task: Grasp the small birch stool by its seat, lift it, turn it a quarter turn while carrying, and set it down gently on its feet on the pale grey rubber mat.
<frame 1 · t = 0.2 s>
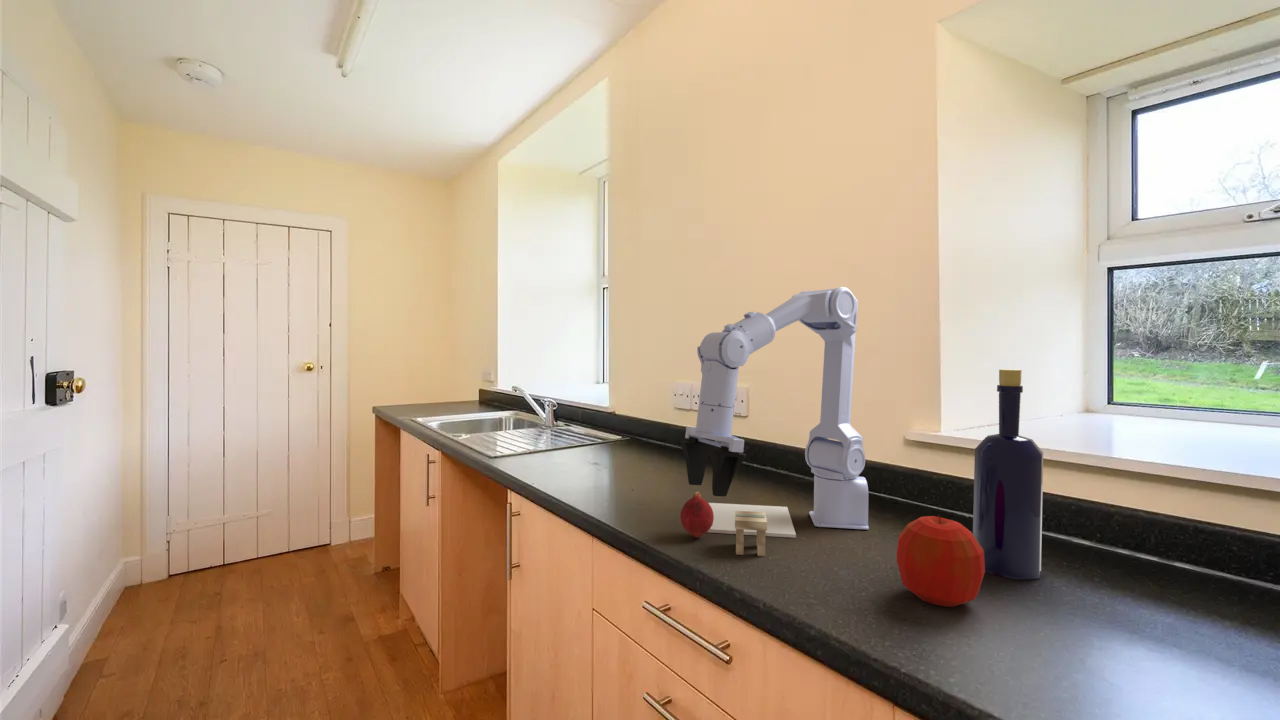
hand: (706, 490, 86), 10 cm above the worktop, tool pointing down, fingers open, 7 cm apart
bottle: (1005, 568, 81), on the worktop
stool: (750, 550, 88), on the worktop
apple: (937, 601, 71), on the worktop
onion: (696, 538, 93), on the worktop
mat: (748, 520, 102), on the worktop
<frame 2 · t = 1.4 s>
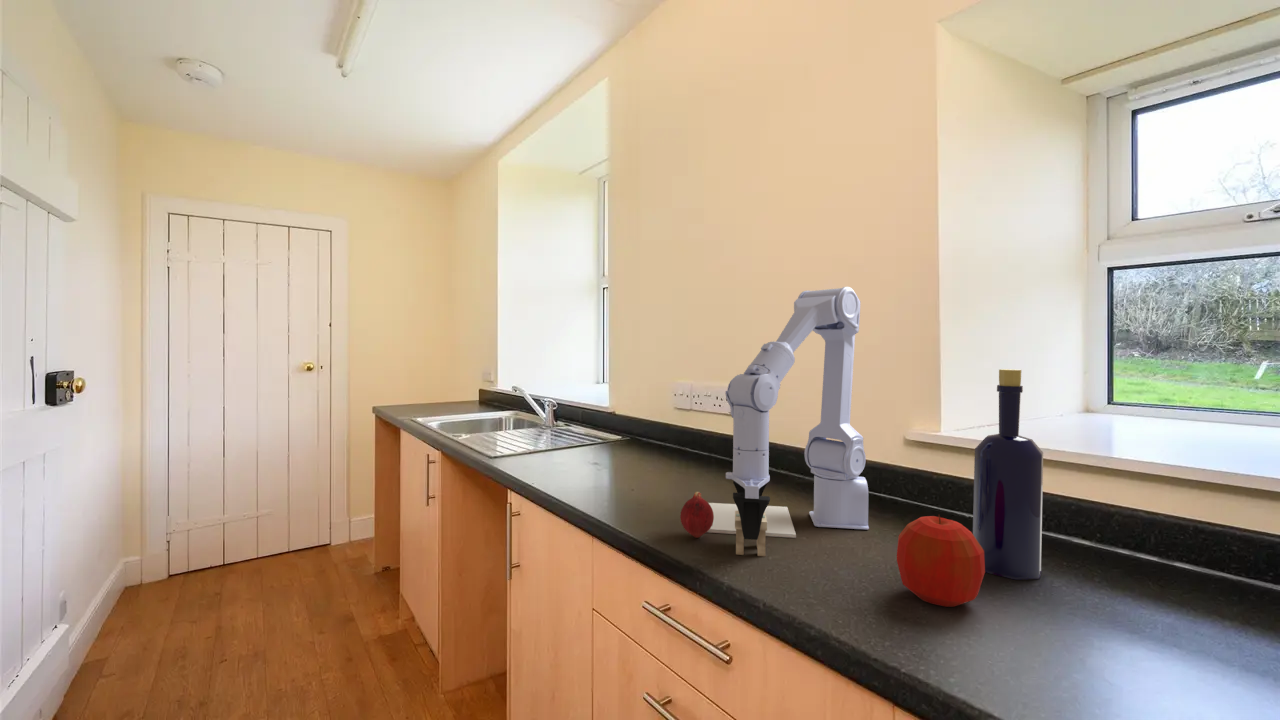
hand: (750, 530, 88), 3 cm above the worktop, tool pointing down, fingers open, 7 cm apart
nothing on the worktop moved.
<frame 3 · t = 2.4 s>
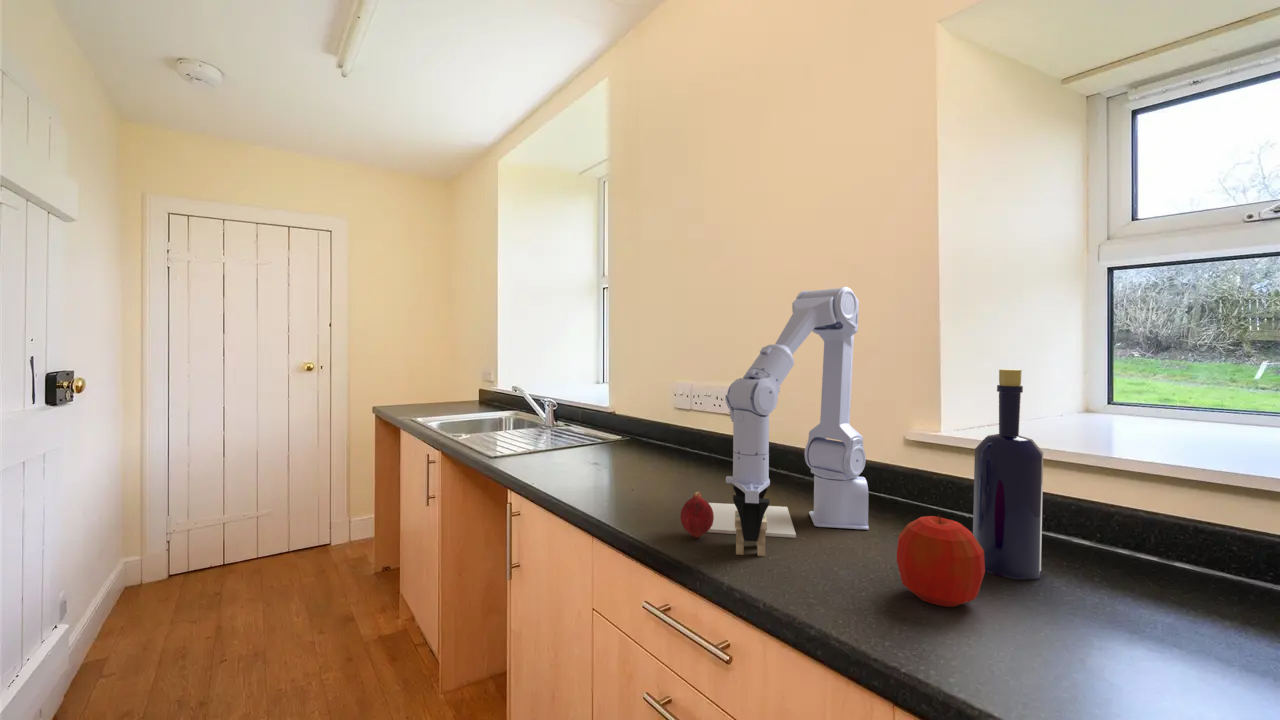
hand: (750, 534, 88), 3 cm above the worktop, tool pointing down, fingers closed on stool, 5 cm apart
stool: (750, 550, 88), on the worktop, touching gripper
everything else where it was.
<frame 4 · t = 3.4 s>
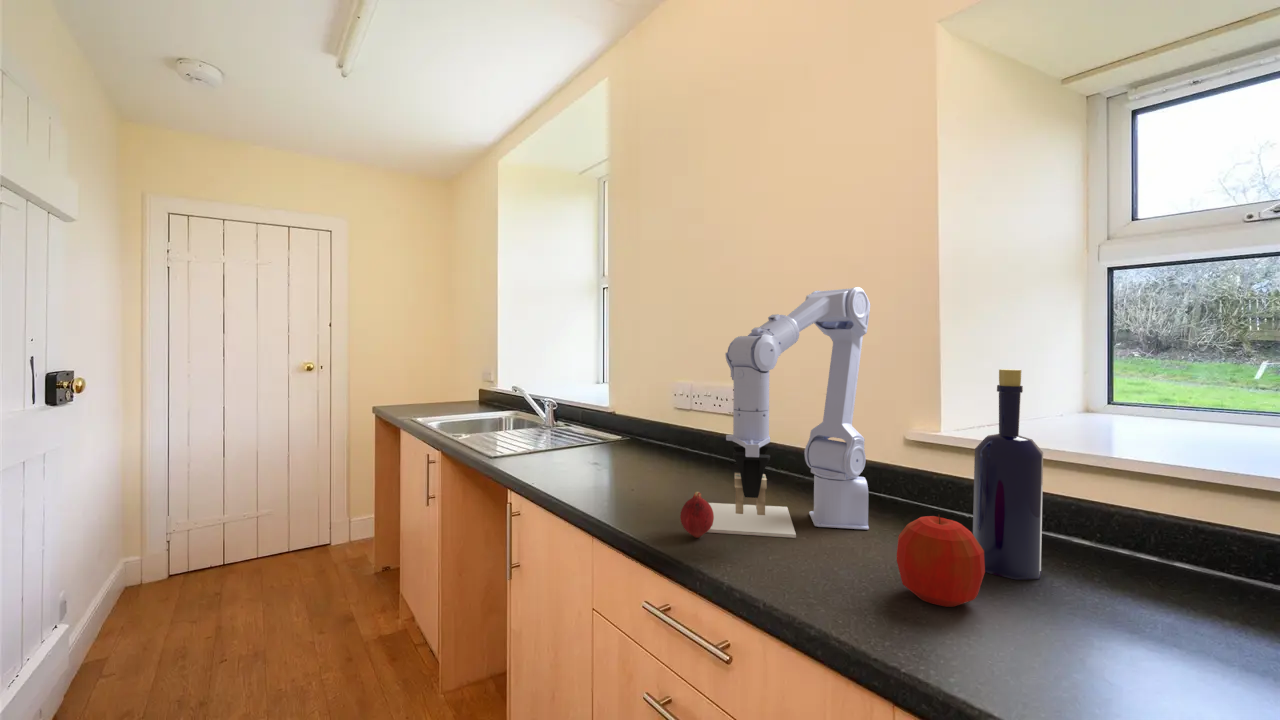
hand: (750, 492, 87), 10 cm above the worktop, tool pointing down, fingers closed on stool, 5 cm apart
stool: (749, 510, 87), point 7 cm above the worktop, touching gripper
everything else where it was.
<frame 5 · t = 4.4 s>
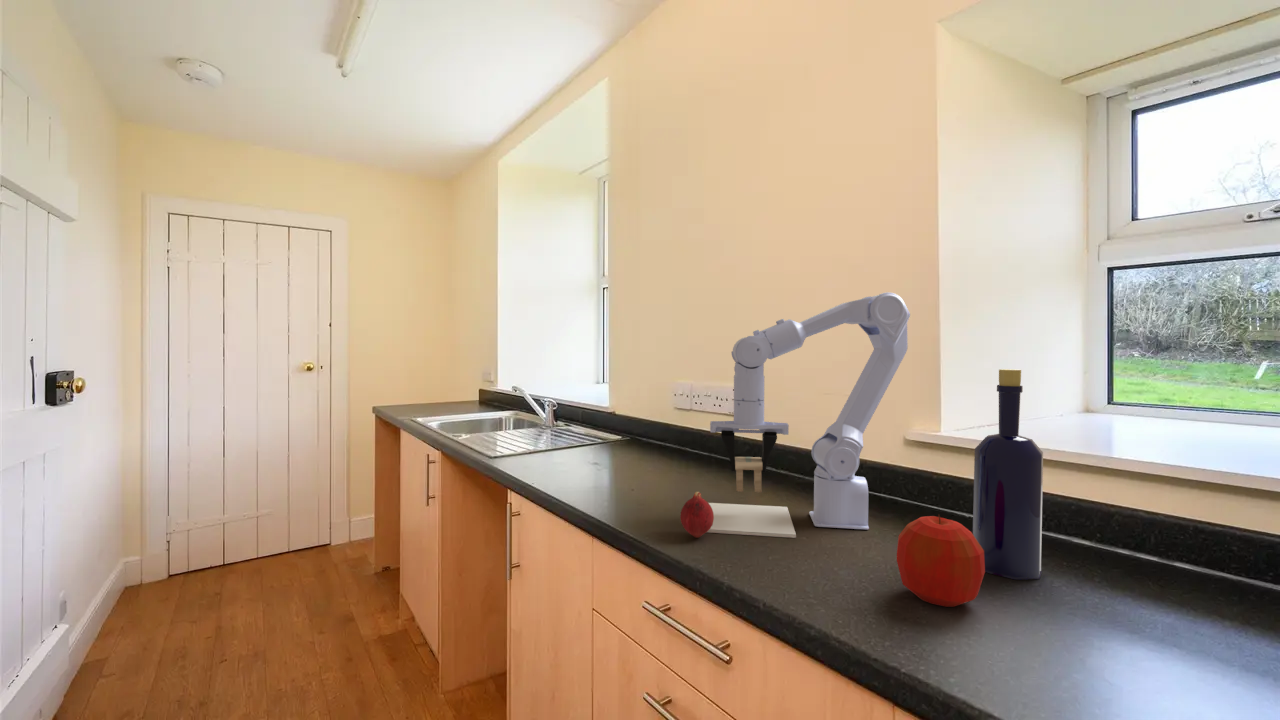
hand: (748, 470, 102), 10 cm above the worktop, tool pointing down, fingers closed on stool, 5 cm apart
stool: (748, 488, 102), point 6 cm above the worktop, touching gripper
everything else where it was.
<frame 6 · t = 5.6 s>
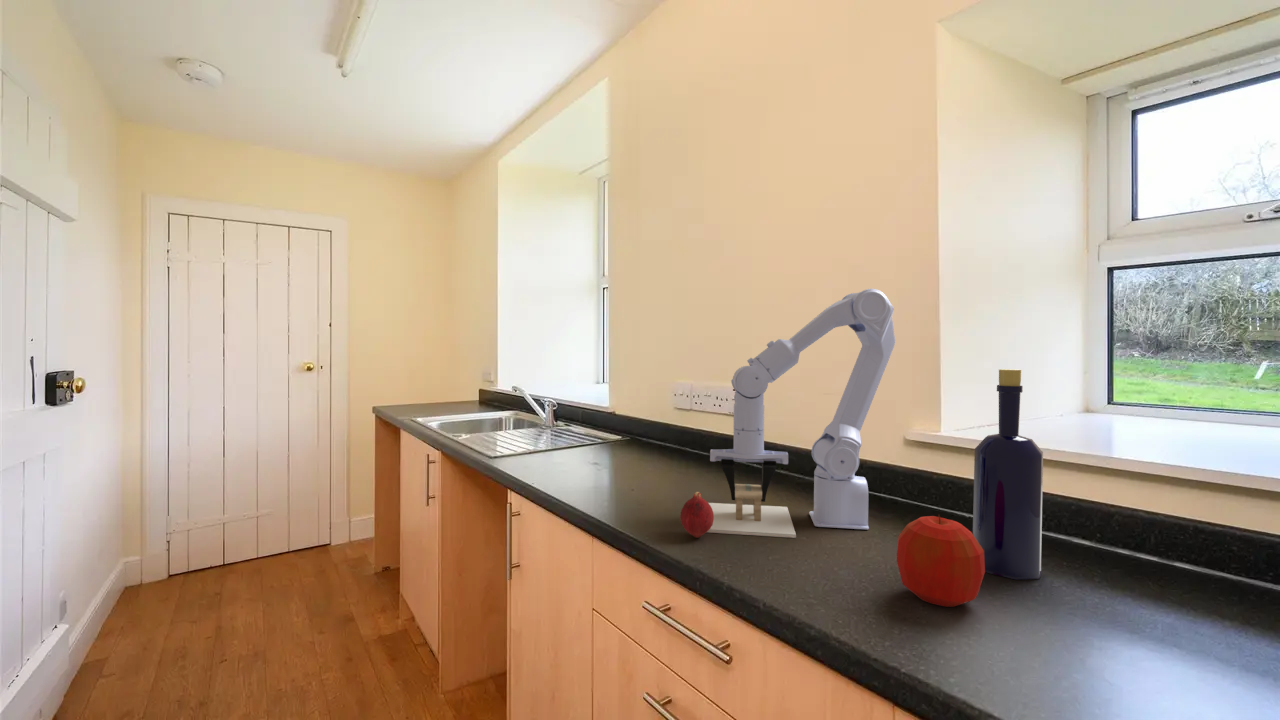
hand: (748, 499, 102), 4 cm above the worktop, tool pointing down, fingers closed on stool, 5 cm apart
stool: (748, 516, 103), point 1 cm above the worktop, touching gripper, mat
everything else where it was.
when the fingers open (4 cm above the worktop, at t = 5.8 s): stool stays where it is, resting on mat.
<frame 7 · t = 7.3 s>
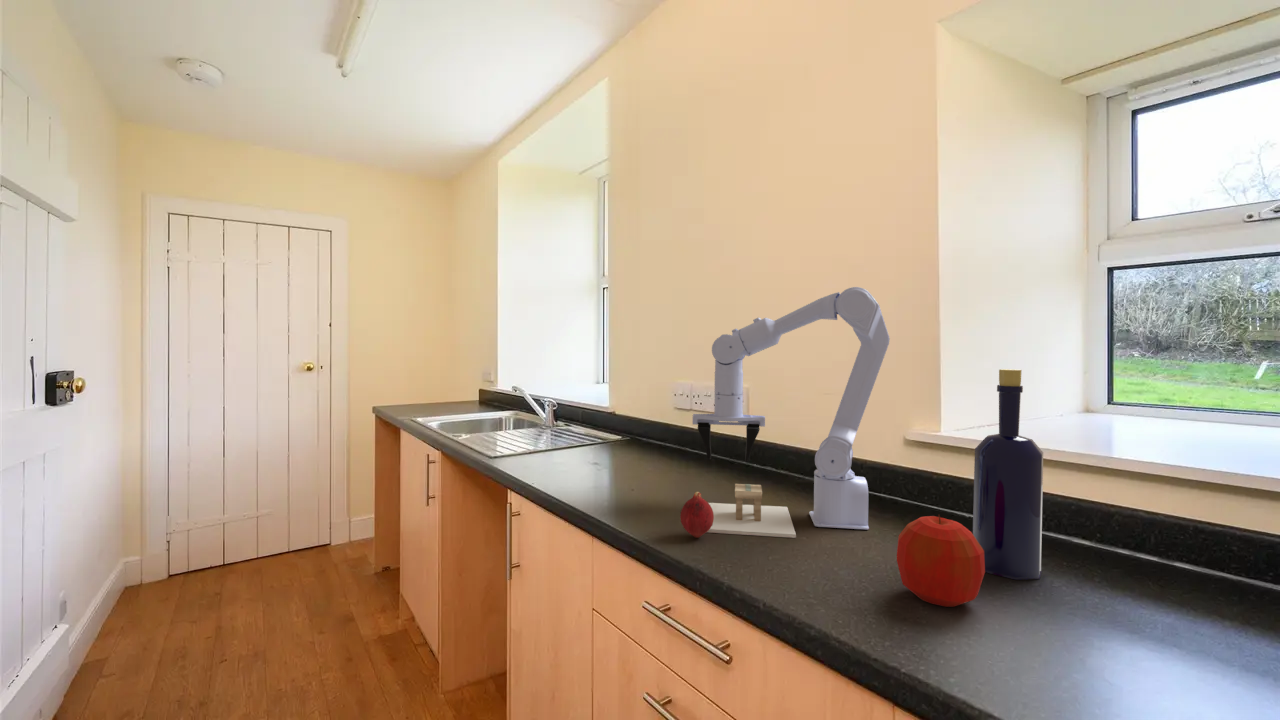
hand: (728, 460, 109), 10 cm above the worktop, tool pointing down, fingers open, 7 cm apart
stool: (748, 516, 103), point 1 cm above the worktop, touching mat
everything else where it was.
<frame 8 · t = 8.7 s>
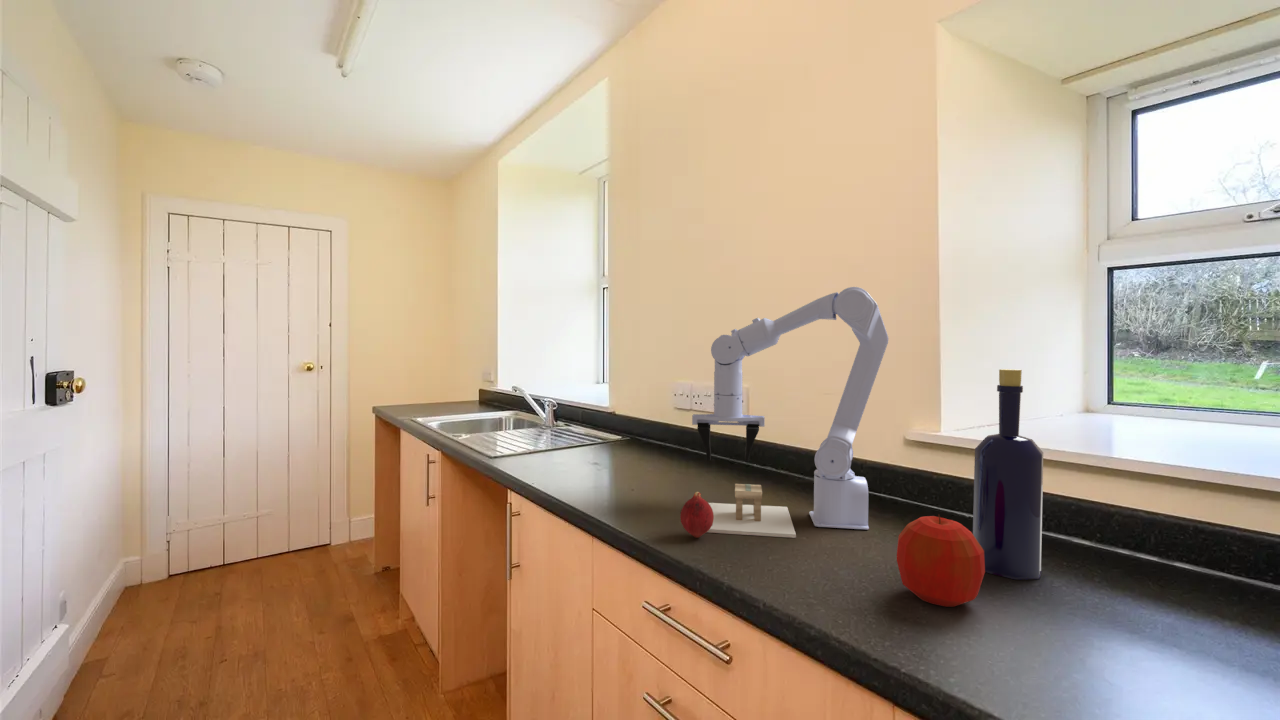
hand: (727, 460, 110), 10 cm above the worktop, tool pointing down, fingers open, 7 cm apart
nothing on the worktop moved.
at the end: stool inside the target area on the mat (0.3 cm from its centre), point 0.6 cm above the mat's base; stool tilted 0°; the gripper is holding nothing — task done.
